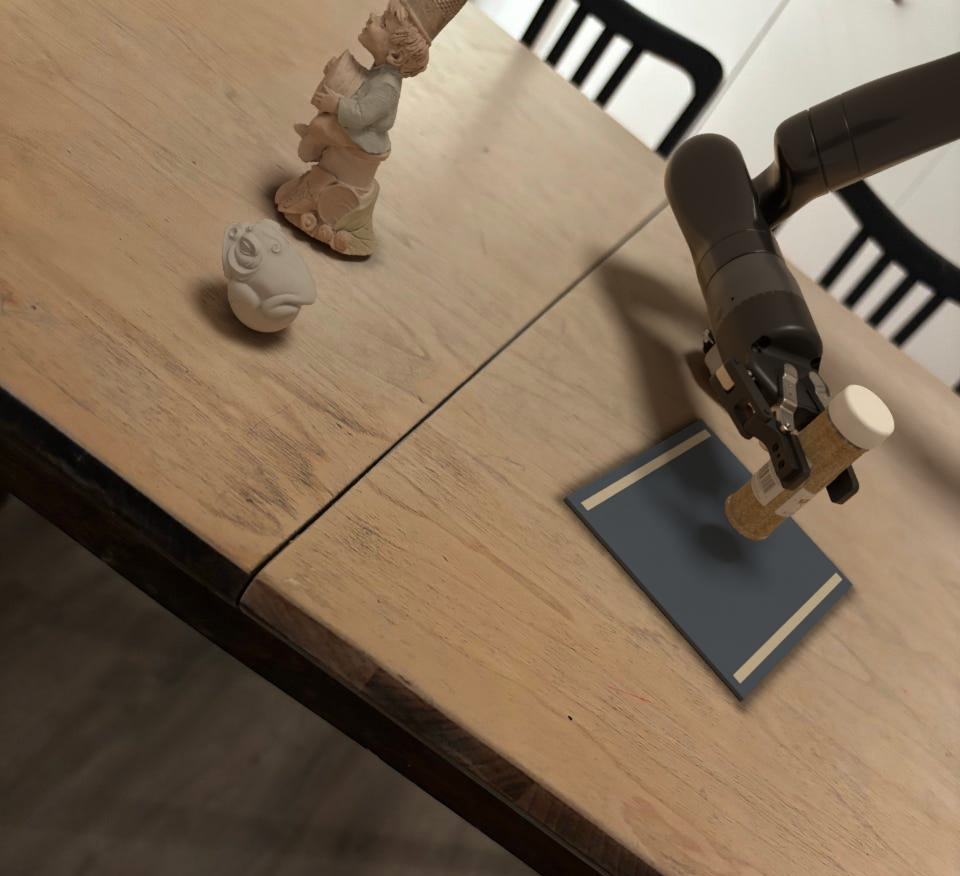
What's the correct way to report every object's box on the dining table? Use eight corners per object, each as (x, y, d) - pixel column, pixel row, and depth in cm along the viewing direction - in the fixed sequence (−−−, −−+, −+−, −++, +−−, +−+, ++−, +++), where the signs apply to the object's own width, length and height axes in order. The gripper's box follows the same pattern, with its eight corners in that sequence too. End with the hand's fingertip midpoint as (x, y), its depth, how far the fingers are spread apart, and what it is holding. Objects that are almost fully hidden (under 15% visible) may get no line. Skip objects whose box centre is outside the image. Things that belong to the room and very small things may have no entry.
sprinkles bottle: (766, 552, 77) (899, 443, 67) (719, 524, 76) (848, 410, 66) (767, 513, 80) (895, 404, 70) (723, 486, 79) (846, 371, 69)
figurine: (378, 214, 82) (489, -24, 67) (370, 275, 77) (487, 33, 63) (276, 166, 79) (369, -95, 64) (260, 227, 74) (357, -41, 59)
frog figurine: (227, 270, 70) (255, 188, 65) (312, 326, 71) (346, 249, 66) (185, 310, 66) (211, 226, 61) (276, 369, 67) (309, 291, 62)
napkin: (698, 421, 89) (701, 418, 89) (849, 587, 87) (853, 584, 86) (563, 499, 74) (566, 496, 74) (740, 701, 72) (744, 698, 72)
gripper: (723, 261, 74) (785, 434, 65) (857, 316, 80) (930, 479, 72) (663, 334, 79) (714, 501, 71) (793, 379, 86) (854, 538, 77)
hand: (822, 489), depth 71 cm, fingers closed on sprinkles bottle, 4 cm apart
